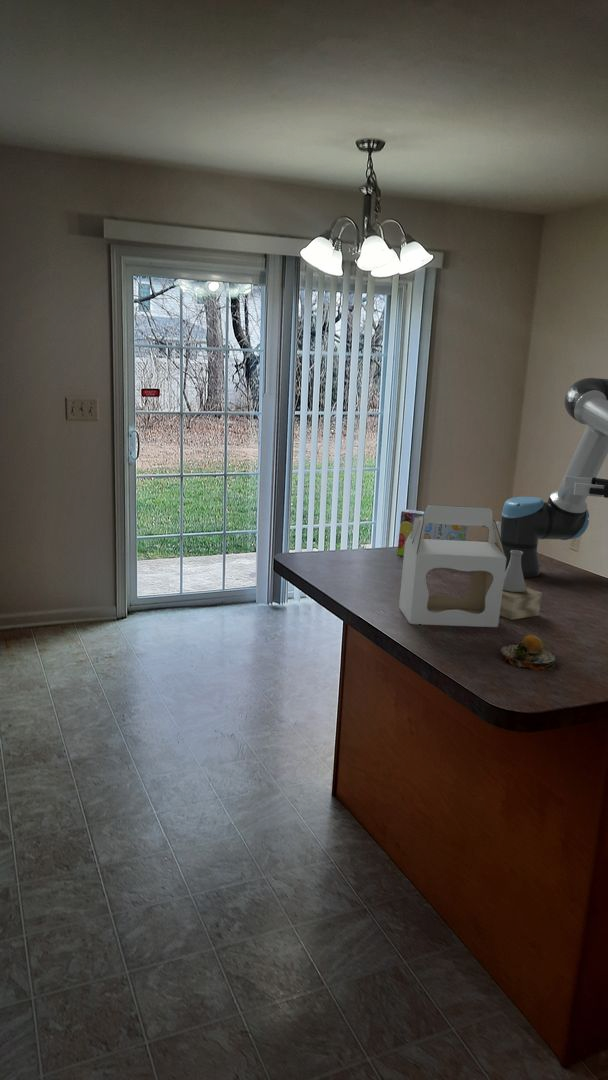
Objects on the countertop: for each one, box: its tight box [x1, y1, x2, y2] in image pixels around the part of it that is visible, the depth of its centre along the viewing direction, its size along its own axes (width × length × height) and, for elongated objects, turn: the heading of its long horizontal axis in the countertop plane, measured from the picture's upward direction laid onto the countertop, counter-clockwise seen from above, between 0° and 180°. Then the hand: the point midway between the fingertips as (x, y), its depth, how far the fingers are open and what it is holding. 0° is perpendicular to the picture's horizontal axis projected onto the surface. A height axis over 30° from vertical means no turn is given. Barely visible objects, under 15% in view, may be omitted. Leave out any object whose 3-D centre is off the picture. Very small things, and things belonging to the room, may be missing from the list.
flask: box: [503, 550, 526, 592], centre depth 198 cm, size 7×7×10 cm
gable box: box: [398, 504, 507, 628], centre depth 189 cm, size 22×13×28 cm, turn 95°
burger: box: [498, 634, 557, 671], centre depth 165 cm, size 12×12×8 cm
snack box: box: [396, 509, 468, 557], centre depth 252 cm, size 21×6×15 cm, turn 65°
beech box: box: [499, 587, 544, 620], centre depth 200 cm, size 10×10×6 cm
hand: (569, 485), depth 192 cm, fingers open, 13 cm apart
